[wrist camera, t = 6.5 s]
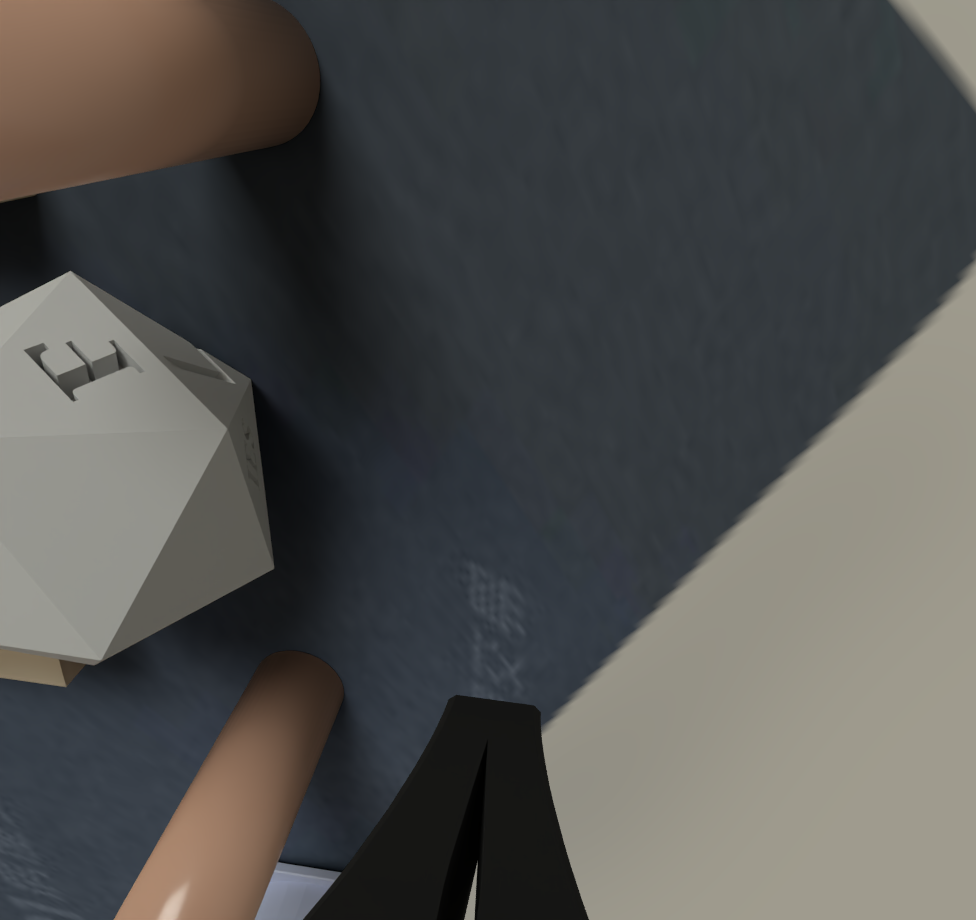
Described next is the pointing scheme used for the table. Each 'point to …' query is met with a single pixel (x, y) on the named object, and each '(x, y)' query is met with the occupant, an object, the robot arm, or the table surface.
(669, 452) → the table surface
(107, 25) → the trap post near
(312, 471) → the table surface
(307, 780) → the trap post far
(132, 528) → the die
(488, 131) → the table surface
